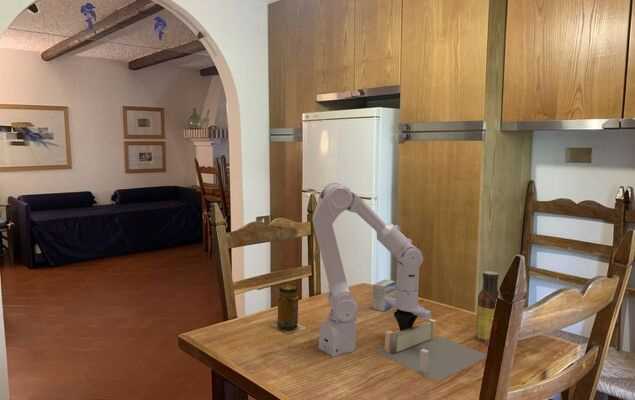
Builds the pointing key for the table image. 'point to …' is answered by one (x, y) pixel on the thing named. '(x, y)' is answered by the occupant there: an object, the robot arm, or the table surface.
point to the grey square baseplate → (433, 355)
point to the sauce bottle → (486, 306)
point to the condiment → (288, 310)
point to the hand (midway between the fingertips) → (405, 337)
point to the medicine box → (383, 294)
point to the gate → (411, 337)
